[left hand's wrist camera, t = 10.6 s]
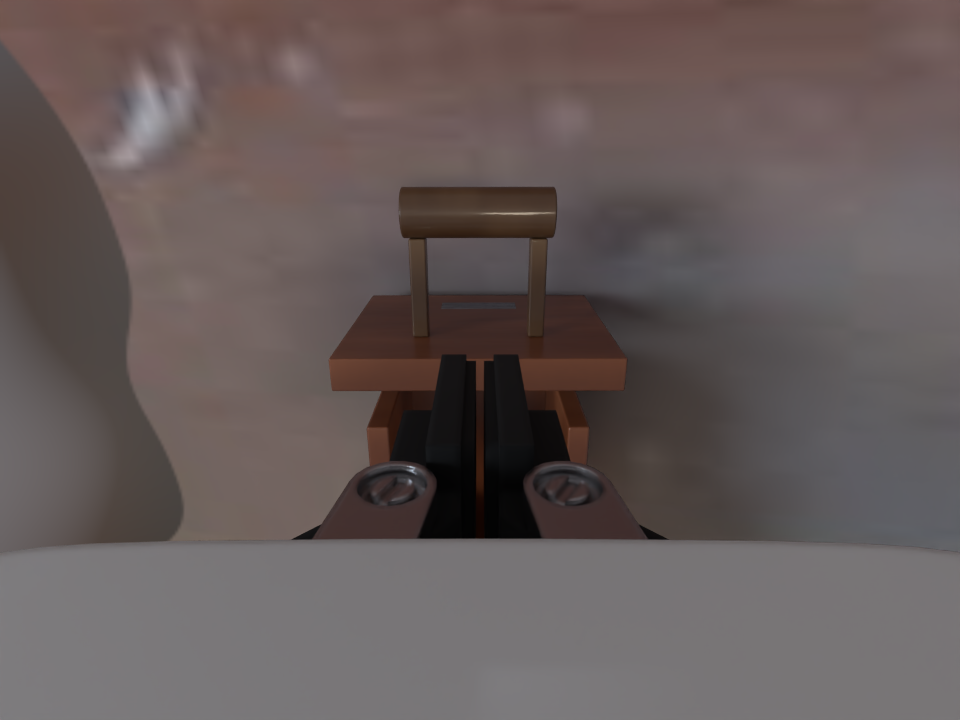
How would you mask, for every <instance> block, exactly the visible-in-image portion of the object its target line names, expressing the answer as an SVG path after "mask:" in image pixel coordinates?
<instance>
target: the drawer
mask: <svg viewBox="0 0 960 720" xmlns="http://www.w3.org/2000/svg"><path fill="white" fill-rule="evenodd" d="M556 220H557V195H556V190H555V187H402V188H401V189H400V194H399V222H400V230H401V234H402V237H403V238H410V239H409V241H408V242H409V263H410V284H411V296H373V297H372V298H371V300H370V301H369V303H368V304H367V305H366V307H365V308H364V310H363V311H362V313H361V314H360V315H359V317H358V318H357V320H356V321H355V323H354V324H353V325H352V327H351V328H350V330H349V331H348V333H347V334H346V335H345V337H344V338H343V340H342V341H341V343H340V344H339V345H338V347H337V348H336V350H335V351H334V353H333V354H332V355H331V357H330V358H329V367H330V376H331V386H332V391H381V394H380V396H379V399H378V402H377V404H376V407H375V409H374V412H373V414H372V417H371V419H370V422H369V424H368V427H367V438H368V449H369V461H370V466H372V465H375V464H378V463H383V462H389V460H390V457H391V453H392V450H393V446H394V443H395V439H396V436H397V432H398V429H399V425H400V422H401V418H402V415H403V412H404V410H432V406H433V401H434V395H435V390H436V384H437V379H438V373H439V367H440V362H441V356H442V354H466V356H467V361H476V539H484V361H493V356H494V354H518V356H519V362H520V367H521V373H522V379H523V384H524V390H525V395H526V401H527V406H528V410H556V412H557V415H558V418H559V422H560V425H561V429H562V432H563V436H564V439H565V443H566V446H567V450H568V453H569V457H570V460H571V462H577V463H582V464H585V465H587V457H588V445H589V432H590V428H589V425H588V423H587V420H586V418H585V415H584V412H583V410H582V407H581V405H580V402H579V399H578V397H577V394H576V391H623V390H624V389H625V379H626V369H627V358H626V356H625V355H624V353H623V352H622V350H621V349H620V347H619V346H618V345H617V343H616V342H615V340H614V339H613V337H612V336H611V334H610V333H609V331H608V330H607V328H606V327H605V325H604V324H603V323H602V321H601V320H600V318H599V317H598V315H597V314H596V312H595V311H594V309H593V308H592V306H591V305H590V303H589V302H588V301H587V299H586V298H585V296H584V295H545V292H546V268H547V245H548V240H547V238H552V237H554V234H555V229H556ZM426 238H530V241H529V273H528V295H429V291H428V263H427V239H426Z"/></svg>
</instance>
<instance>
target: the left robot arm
mask: <svg viewBox="0 0 960 720" xmlns="http://www.w3.org/2000/svg"><path fill="white" fill-rule="evenodd" d="M0 720H960V553H959V552H953V551H946V550H937V549H929V548H920V547H910V546H894V545H878V544H862V543H828V542H791V541H744V540H668V539H666V538H664V537H663V536H661V535H659V534H657V533H655V532H653V531H651V530H649V529H647V528H645V527H643V526H641V525H639V524H638V523H637V521H636V520H635V518H634V517H633V515H632V514H631V512H630V511H629V509H628V508H627V506H626V504H625V503H624V501H623V500H622V498H621V497H620V495H619V494H618V492H617V491H616V489H615V487H614V486H613V484H612V483H611V481H610V480H609V479H608V478H607V477H606V476H605V475H604V474H603V473H602V472H600V471H598V470H597V469H595V468H593V467H590V466H588V465H585V464H582V463H577V462H571V460H570V457H569V453H568V450H567V446H566V443H565V439H564V436H563V432H562V429H561V425H560V422H559V418H558V415H557V412H556V410H528V406H527V401H526V395H525V390H524V384H523V379H522V373H521V367H520V362H519V356H518V354H494V356H493V361H484V539H476V361H467V356H466V354H442V356H441V362H440V367H439V373H438V379H437V384H436V390H435V395H434V401H433V406H432V410H404V412H403V415H402V418H401V422H400V425H399V429H398V432H397V436H396V439H395V443H394V446H393V450H392V453H391V457H390V460H389V462H383V463H378V464H375V465H372V466H370V467H367V468H365V469H363V470H362V471H360V472H358V473H357V474H356V475H355V476H354V477H353V478H352V479H351V480H350V481H349V483H348V484H347V486H346V487H345V489H344V491H343V492H342V494H341V495H340V497H339V498H338V500H337V501H336V503H335V504H334V506H333V508H332V509H331V511H330V512H329V514H328V515H327V517H326V518H325V520H324V521H323V523H322V524H321V525H319V526H317V527H315V528H313V529H311V530H309V531H307V532H305V533H303V534H301V535H299V536H297V537H296V538H294V539H292V540H229V541H165V542H133V543H100V544H80V545H66V546H52V547H39V548H31V549H23V550H16V551H9V552H1V553H0Z"/></svg>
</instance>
